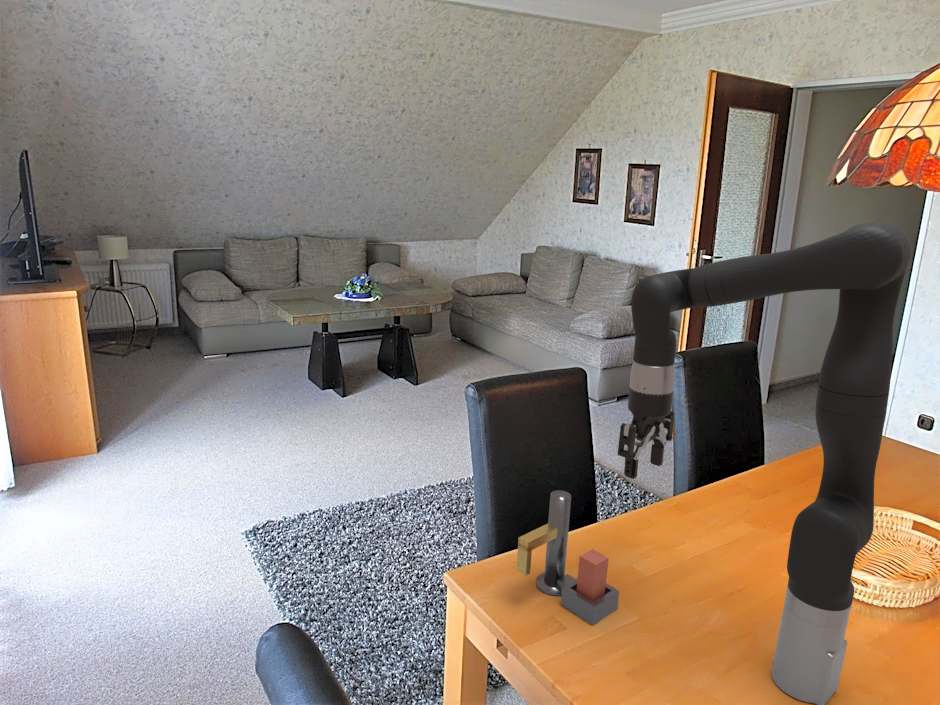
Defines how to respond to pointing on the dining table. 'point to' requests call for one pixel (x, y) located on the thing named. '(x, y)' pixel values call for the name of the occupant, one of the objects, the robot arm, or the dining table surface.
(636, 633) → the dining table surface
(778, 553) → the dining table surface
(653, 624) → the dining table surface
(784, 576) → the dining table surface
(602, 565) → the red rectangular block
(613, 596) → the grey stand
